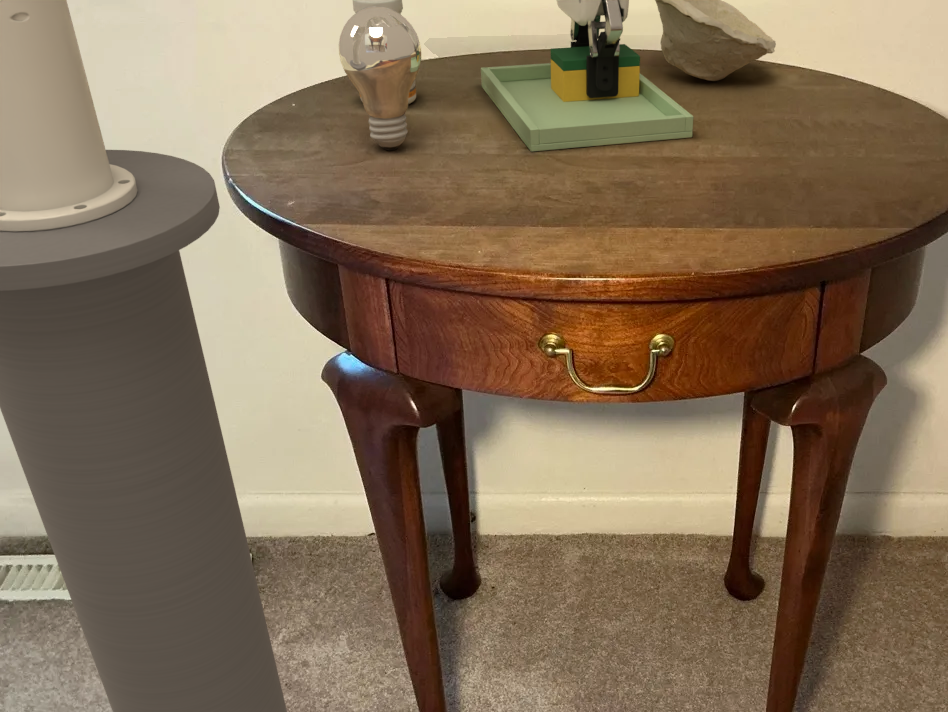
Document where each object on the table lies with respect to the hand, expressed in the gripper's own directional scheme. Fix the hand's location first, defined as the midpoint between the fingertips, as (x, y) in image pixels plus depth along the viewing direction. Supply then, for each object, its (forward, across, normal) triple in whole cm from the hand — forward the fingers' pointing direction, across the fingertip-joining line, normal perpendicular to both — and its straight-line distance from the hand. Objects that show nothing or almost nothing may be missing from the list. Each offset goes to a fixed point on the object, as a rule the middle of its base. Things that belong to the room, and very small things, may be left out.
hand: (594, 86), depth 108 cm
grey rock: (+1, -4, +14) cm, 15 cm away
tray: (+1, +4, -2) cm, 5 cm away
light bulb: (+1, +10, -22) cm, 25 cm away
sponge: (+1, 0, 0) cm, 1 cm away
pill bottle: (+1, -4, -21) cm, 21 cm away
